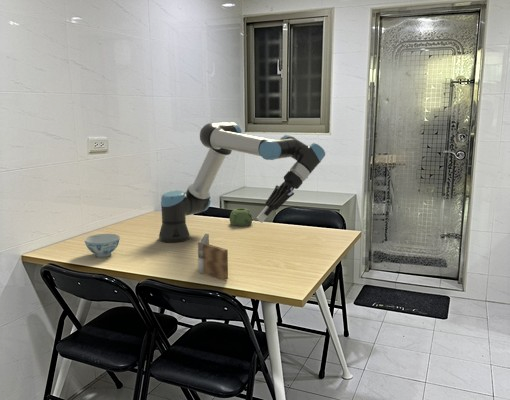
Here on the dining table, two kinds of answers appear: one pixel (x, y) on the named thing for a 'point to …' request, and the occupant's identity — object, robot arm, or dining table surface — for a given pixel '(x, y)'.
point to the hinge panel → (201, 260)
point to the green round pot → (240, 217)
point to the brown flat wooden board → (214, 260)
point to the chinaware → (102, 244)
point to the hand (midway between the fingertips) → (259, 220)
